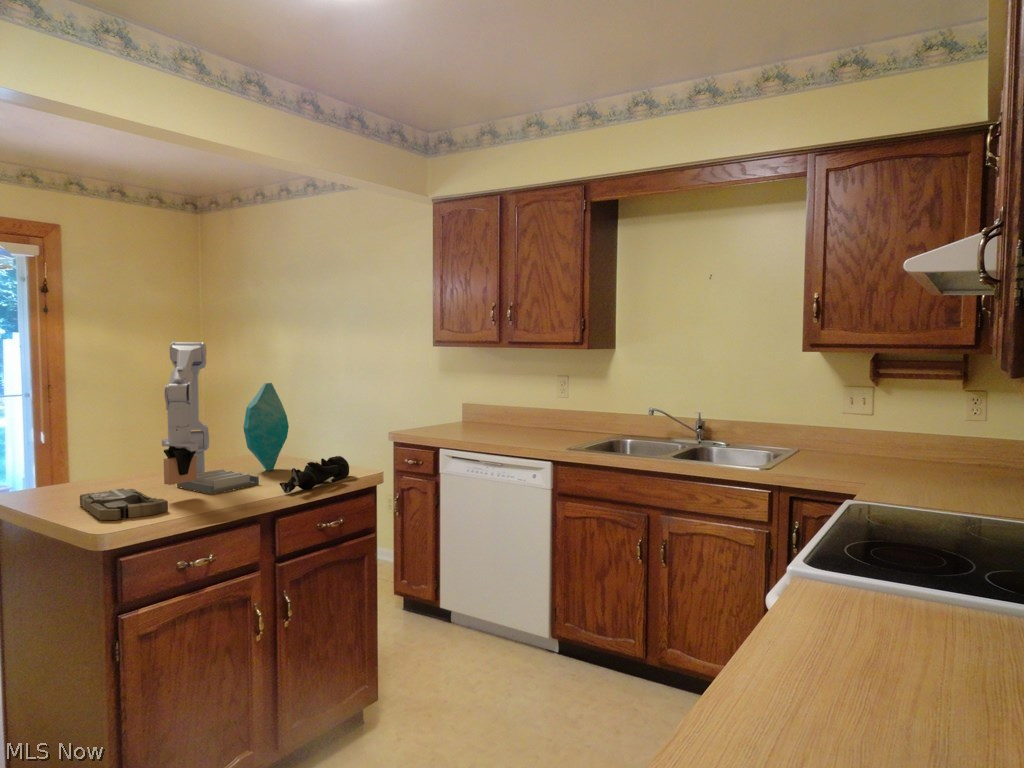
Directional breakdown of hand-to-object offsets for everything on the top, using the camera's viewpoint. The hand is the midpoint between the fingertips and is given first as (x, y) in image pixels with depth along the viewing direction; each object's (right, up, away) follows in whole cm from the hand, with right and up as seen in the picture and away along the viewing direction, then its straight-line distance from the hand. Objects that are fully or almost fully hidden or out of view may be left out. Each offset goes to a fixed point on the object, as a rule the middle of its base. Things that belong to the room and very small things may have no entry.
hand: (180, 474), depth 183 cm
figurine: (+33, -6, +20) cm, 39 cm away
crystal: (+9, -5, +40) cm, 42 cm away
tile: (0, -2, 0) cm, 2 cm away
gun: (-9, -8, -12) cm, 17 cm away
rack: (+4, -6, +16) cm, 17 cm away
